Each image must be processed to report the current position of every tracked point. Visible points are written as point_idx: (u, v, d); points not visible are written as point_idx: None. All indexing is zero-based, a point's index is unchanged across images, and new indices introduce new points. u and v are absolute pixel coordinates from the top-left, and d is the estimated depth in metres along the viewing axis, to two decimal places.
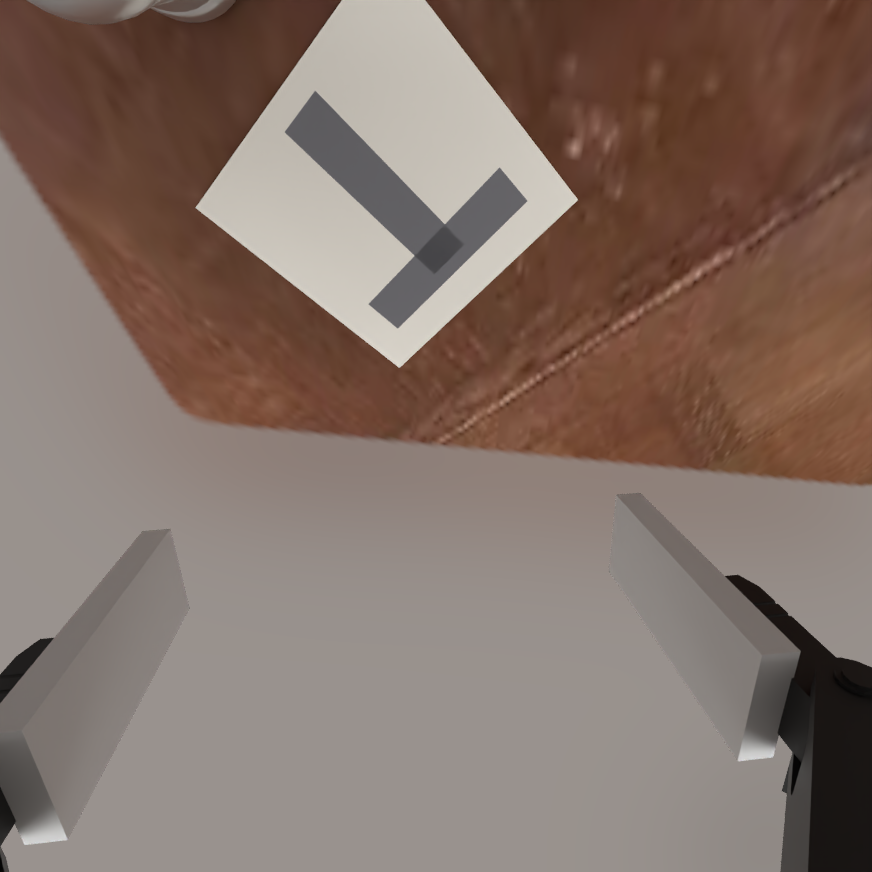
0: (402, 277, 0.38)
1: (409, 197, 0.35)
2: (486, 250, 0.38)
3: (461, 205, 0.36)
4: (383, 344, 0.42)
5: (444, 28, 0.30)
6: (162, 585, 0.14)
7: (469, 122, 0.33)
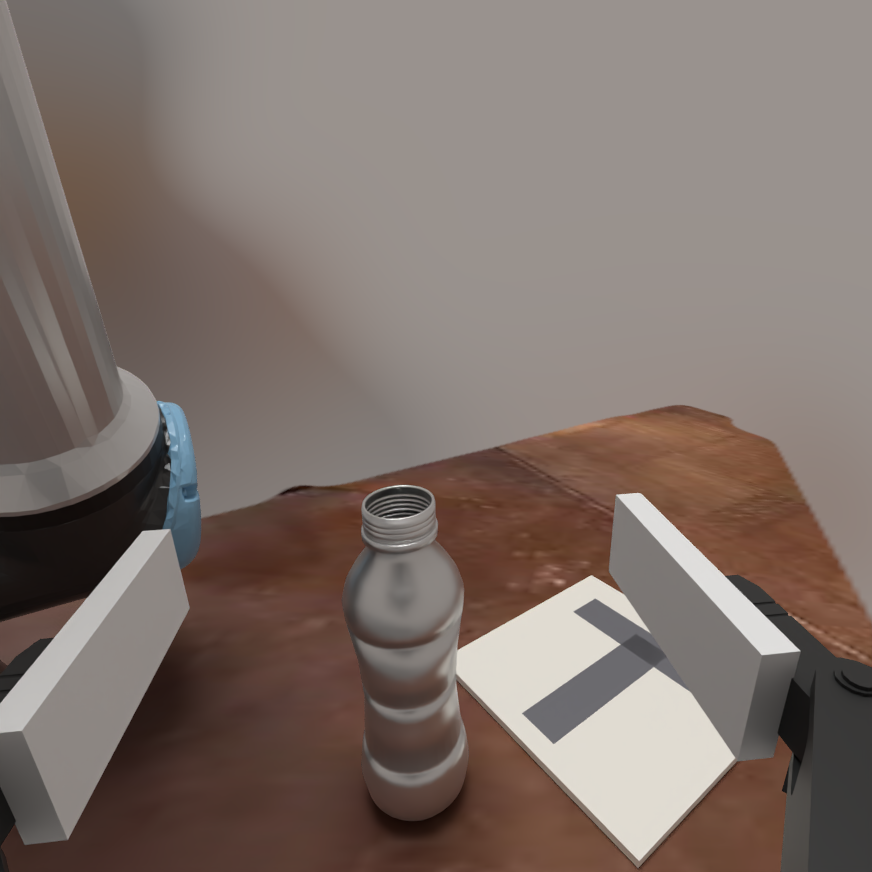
0: (678, 678, 0.39)
1: (601, 664, 0.41)
2: (638, 621, 0.45)
3: (603, 633, 0.44)
4: None
5: (488, 634, 0.45)
6: (162, 585, 0.14)
7: (544, 625, 0.45)
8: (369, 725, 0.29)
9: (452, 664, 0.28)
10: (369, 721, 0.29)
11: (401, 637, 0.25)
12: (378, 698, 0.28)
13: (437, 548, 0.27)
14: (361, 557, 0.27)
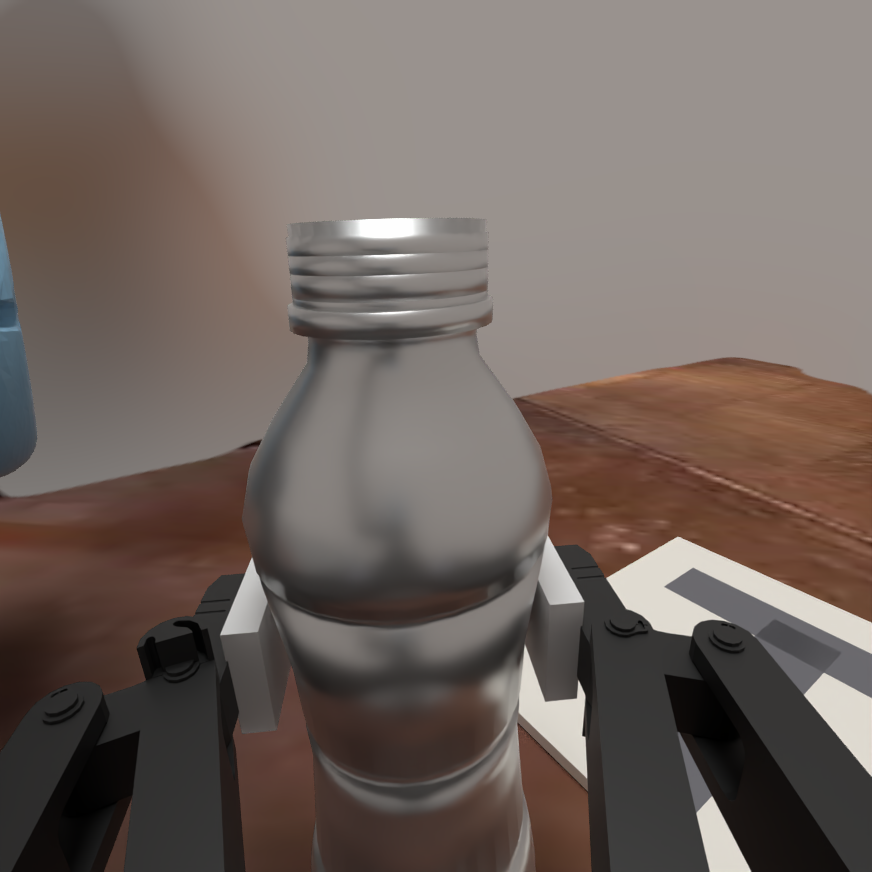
0: None
1: None
2: (771, 600, 0.29)
3: (721, 618, 0.28)
4: None
5: None
6: None
7: None
8: (321, 810, 0.13)
9: (518, 669, 0.12)
10: (321, 801, 0.13)
11: (394, 588, 0.08)
12: (337, 754, 0.11)
13: (489, 368, 0.10)
14: (292, 388, 0.10)
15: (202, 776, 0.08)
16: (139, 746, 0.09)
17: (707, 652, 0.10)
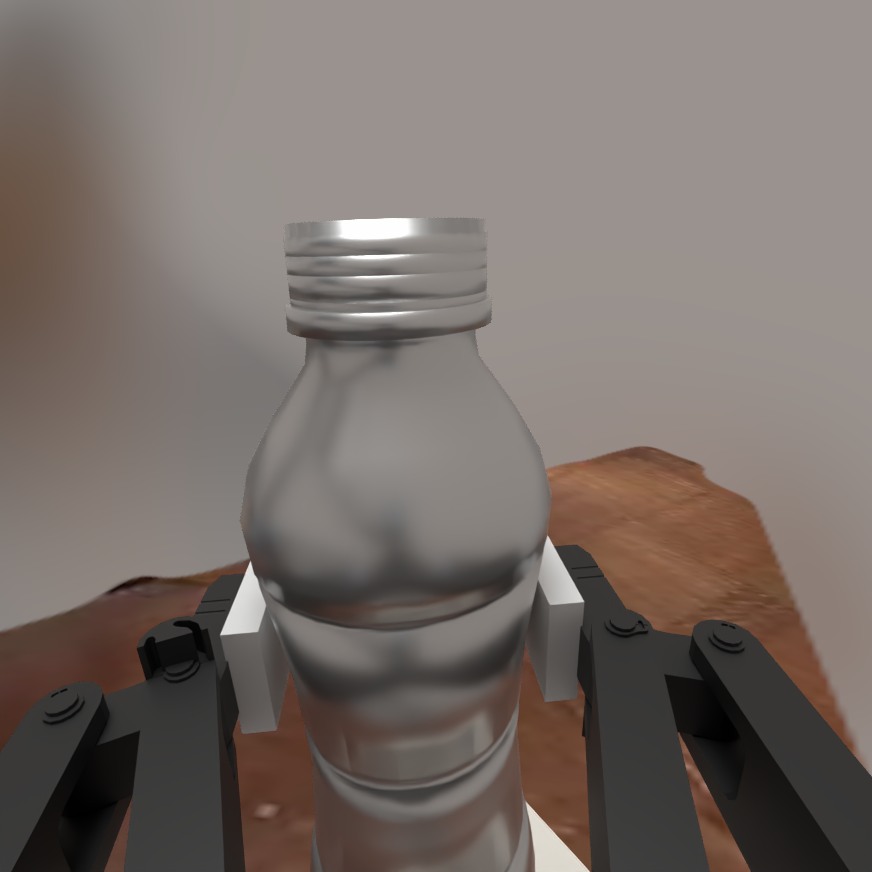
0: None
1: None
2: (542, 871, 0.29)
3: None
4: None
5: None
6: None
7: None
8: (320, 812, 0.13)
9: (518, 671, 0.12)
10: (319, 804, 0.13)
11: (392, 591, 0.08)
12: (335, 757, 0.11)
13: (488, 369, 0.10)
14: (289, 389, 0.10)
15: (202, 777, 0.08)
16: (139, 746, 0.09)
17: (707, 652, 0.10)
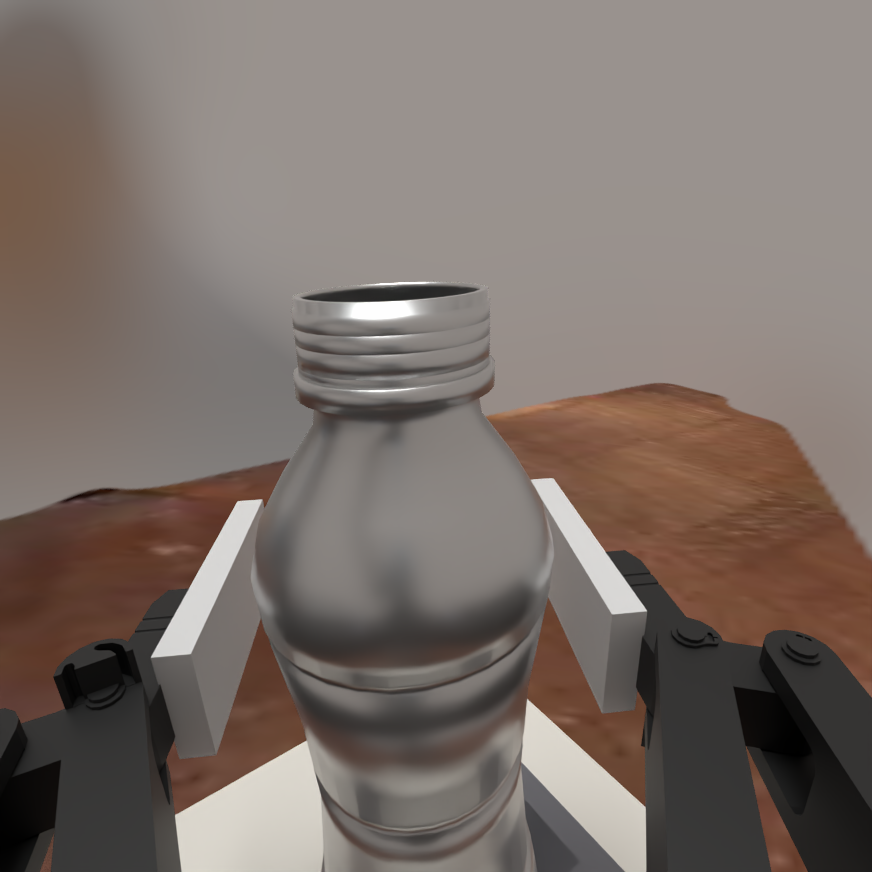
0: None
1: None
2: (532, 759, 0.22)
3: None
4: None
5: (220, 792, 0.22)
6: None
7: None
8: (329, 850, 0.13)
9: (522, 716, 0.12)
10: (329, 842, 0.13)
11: (400, 657, 0.09)
12: (345, 803, 0.11)
13: (491, 428, 0.11)
14: (298, 449, 0.10)
15: (131, 804, 0.08)
16: (60, 780, 0.08)
17: (779, 662, 0.10)
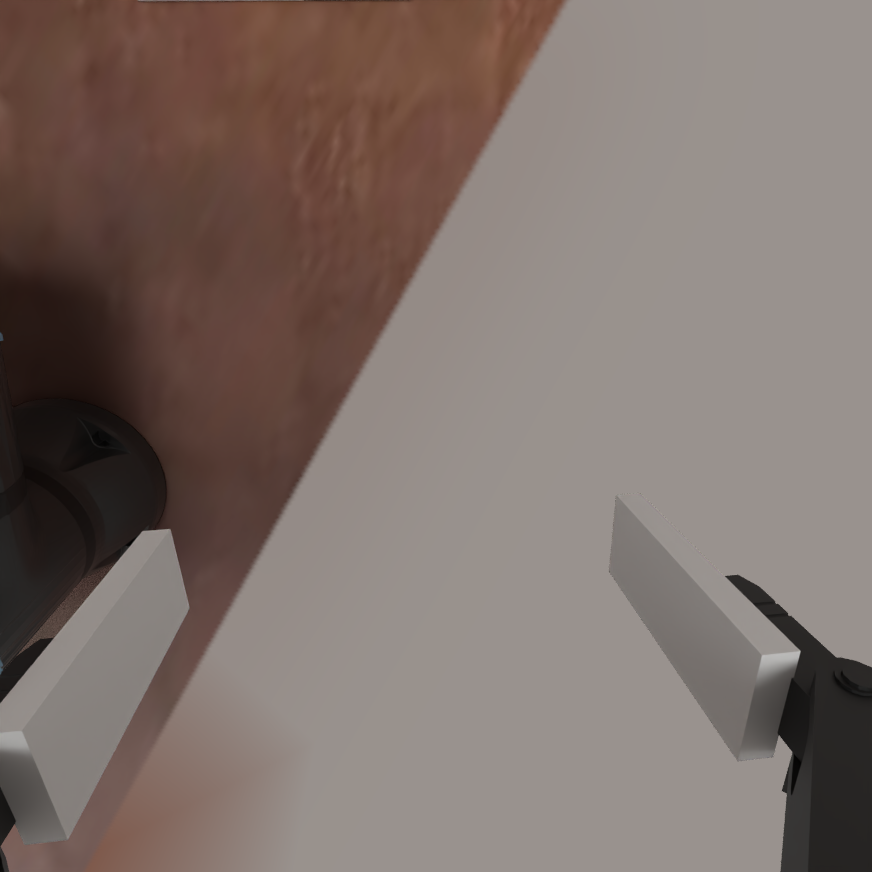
0: None
1: None
2: None
3: None
4: None
5: None
6: (162, 585, 0.14)
7: None
8: None
9: None
10: None
11: None
12: None
13: None
14: None
15: None
16: None
17: None
